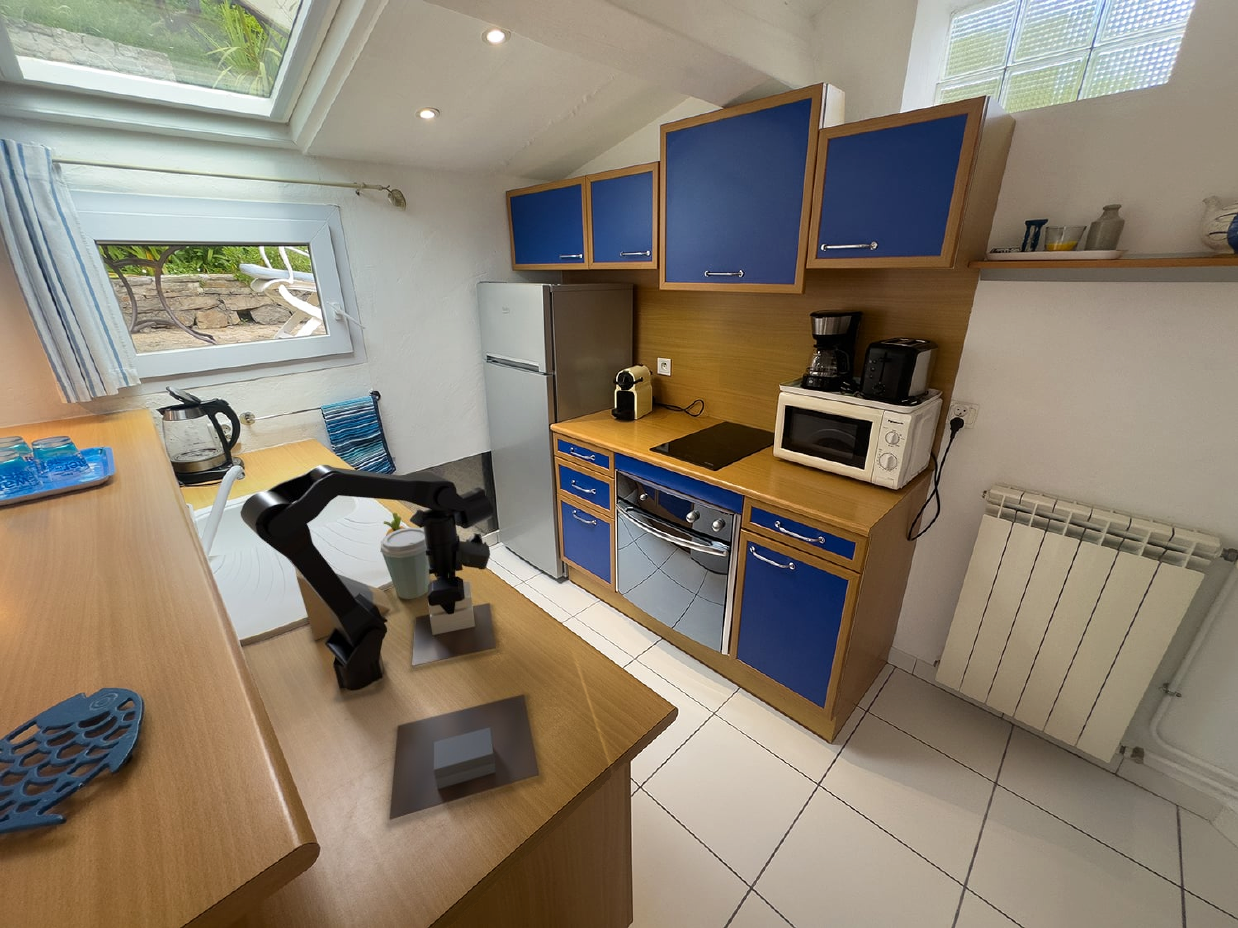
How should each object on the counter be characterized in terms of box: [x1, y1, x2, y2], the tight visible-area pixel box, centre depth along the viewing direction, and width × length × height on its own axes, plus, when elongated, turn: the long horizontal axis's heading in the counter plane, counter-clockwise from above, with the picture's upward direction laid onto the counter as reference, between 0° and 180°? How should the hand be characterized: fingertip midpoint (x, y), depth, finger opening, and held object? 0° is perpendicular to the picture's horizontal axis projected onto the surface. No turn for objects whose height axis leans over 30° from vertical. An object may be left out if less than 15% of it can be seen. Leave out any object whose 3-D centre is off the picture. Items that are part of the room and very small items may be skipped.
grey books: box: [434, 728, 495, 789], centre depth 71 cm, size 8×4×4 cm, turn 109°
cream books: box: [430, 604, 475, 635], centre depth 100 cm, size 8×6×4 cm
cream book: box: [427, 580, 473, 615], centre depth 98 cm, size 8×6×2 cm
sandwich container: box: [294, 567, 391, 641], centre depth 101 cm, size 9×15×15 cm, turn 126°
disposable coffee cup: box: [380, 526, 431, 600], centre depth 108 cm, size 11×11×15 cm
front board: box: [389, 694, 540, 820], centre depth 75 cm, size 20×15×1 cm
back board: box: [411, 602, 497, 667], centre depth 98 cm, size 15×14×1 cm
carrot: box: [383, 512, 406, 537], centre depth 116 cm, size 5×5×15 cm
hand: (450, 604), depth 99 cm, fingers closed on cream book, 5 cm apart
